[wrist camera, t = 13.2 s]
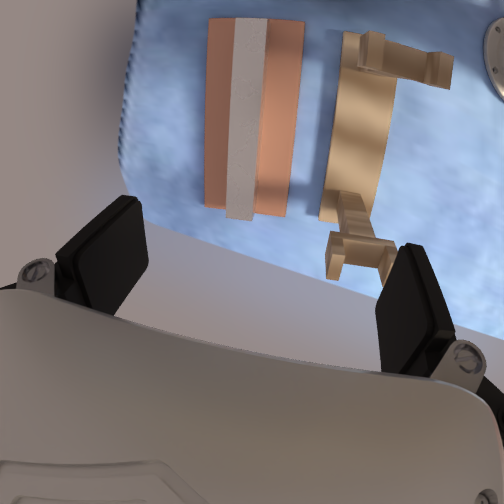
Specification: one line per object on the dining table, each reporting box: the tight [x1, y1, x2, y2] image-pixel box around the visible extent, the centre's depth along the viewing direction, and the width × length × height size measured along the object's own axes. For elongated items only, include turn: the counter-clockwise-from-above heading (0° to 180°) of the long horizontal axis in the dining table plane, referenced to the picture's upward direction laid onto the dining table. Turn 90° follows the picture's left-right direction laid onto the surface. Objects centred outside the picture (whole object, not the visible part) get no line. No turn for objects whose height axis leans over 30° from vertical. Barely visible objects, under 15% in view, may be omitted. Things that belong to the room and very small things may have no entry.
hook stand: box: [318, 31, 454, 287], centre depth 24 cm, size 22×6×14 cm, turn 177°
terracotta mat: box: [204, 18, 305, 217], centre depth 31 cm, size 23×10×1 cm, turn 177°
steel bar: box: [226, 18, 271, 221], centre depth 30 cm, size 22×3×3 cm, turn 176°
